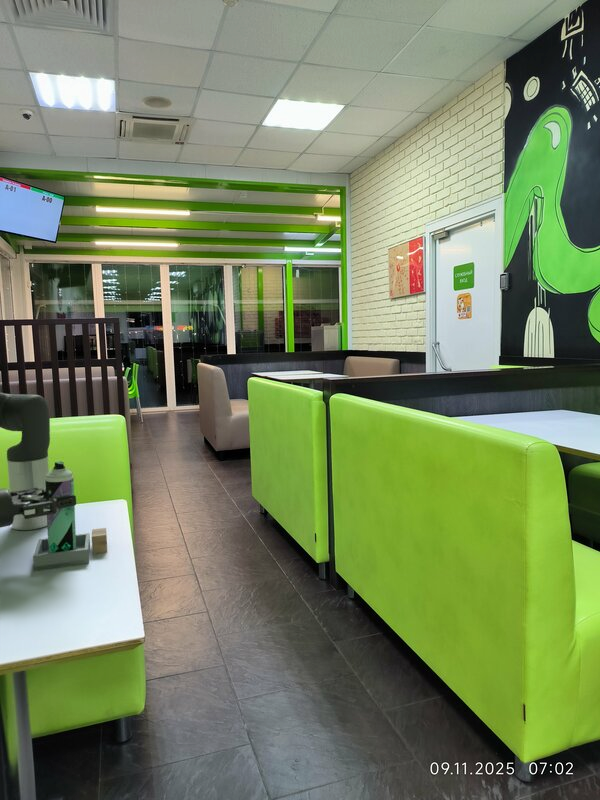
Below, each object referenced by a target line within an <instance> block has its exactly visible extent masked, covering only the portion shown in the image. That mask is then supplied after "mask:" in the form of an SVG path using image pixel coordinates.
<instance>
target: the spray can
mask: <svg viewBox="0 0 600 800" xmlns="http://www.w3.org/2000/svg"><path fill="white" fill-rule="evenodd" d="M73 474H74V473H73V471H71V470H69V469H67V467H66V466H65V465H64V461H55V462H54V467H53V468H51V470H49V473H47V474H46V478H45V482H46V498H57V497H63V496H68V495H75V481H74V475H73ZM46 506H47V507H50V505H46ZM75 506H76V505H75ZM75 506H70V507H65V508H60V509H58V510H57V513H55V514H50V515H47V526H46V527H47V529H46V530H47V538H48V553H55V552H62V551H70V550H76V535H77V533H76V512H75V511H76V510H75V509H76V508H75Z"/></svg>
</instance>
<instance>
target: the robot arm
mask: <svg viewBox="0 0 600 800" xmlns="http://www.w3.org/2000/svg"><path fill="white" fill-rule="evenodd" d="M50 415H51V414H50V408H49V405H48V402H47V400H46V399H45V398H44V397H43V396H41V395H39V394H17V393H16V394H14V393H13V394H11V393H4V392H0V428H1V429H4V430H6V431H11V432H21V438H20V439H21V441H20V442H19V443H17V444H16V445H12V446H10V447H9V448H7V450H6V459H7V460H6V461H7V462H6V463H7V474H8V485H9V489H8V488H0V528H6V527H10V526H12V527H11V528H12V529H13V530H16V531H29V530H31V531H32V530H38V529H41V528H44V527H47V515H50V514H55V513H57V510H58V509H60V508H65V507H70V506H76V505H77V496H76V495H75V494H74V495H68V496H63V497H57V498H46V482H45V478H46V474H47V473H49V472H50V468H49V467H50V466H49V454H48V453H49V446H50V443H51V426H50V425H51V424H50V421H51V420H50ZM46 505H50V507H47V506H46Z"/></svg>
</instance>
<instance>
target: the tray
mask: <svg viewBox="0 0 600 800" xmlns="http://www.w3.org/2000/svg"><path fill="white" fill-rule="evenodd" d="M90 537H91V536H90V533H89V532H88V533H80V534H79V533H78V534H76V550H70V551H62V552H55V553H48V537H47V538H41V539H40V538H39V539H38V540H37V541H38V542H37V544H36V547H35V551H34V553H33V556H32V557H33V558H32V559H33V571H34V572H35V571H42V570H49V569H55V568H56V569H57V568H62V567H63V568H64V567H70V566H72V567H73V566H79V565H84V564H89V563H90V555H91V554H90V552H91V538H90Z"/></svg>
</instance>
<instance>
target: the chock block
mask: <svg viewBox="0 0 600 800" xmlns="http://www.w3.org/2000/svg"><path fill="white" fill-rule="evenodd" d="M91 549H92V550H91V551H92V554H93V555H94V553H97V554H101V553H103V552H104V553H108V538H107V527H102V528H101V527H100V528H93V529H91Z"/></svg>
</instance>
